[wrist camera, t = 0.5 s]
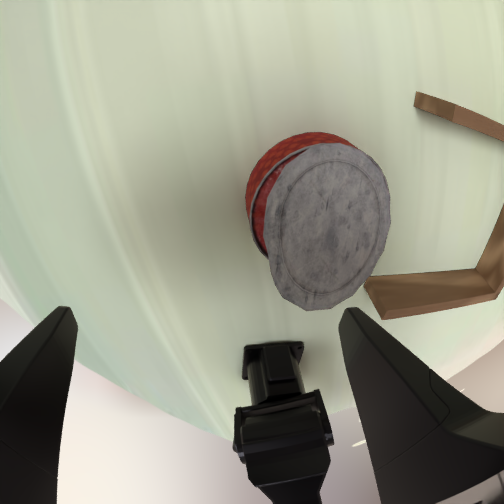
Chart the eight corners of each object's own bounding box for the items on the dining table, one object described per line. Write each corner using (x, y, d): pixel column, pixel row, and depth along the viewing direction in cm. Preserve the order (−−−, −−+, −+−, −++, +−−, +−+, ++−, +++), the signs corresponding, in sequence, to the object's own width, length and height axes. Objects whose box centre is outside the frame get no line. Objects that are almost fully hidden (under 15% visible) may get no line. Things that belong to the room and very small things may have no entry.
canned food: (243, 147, 24) (232, 111, 14) (362, 144, 23) (418, 113, 13) (252, 285, 25) (248, 333, 16) (368, 276, 25) (423, 315, 15)
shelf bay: (476, 275, 30) (495, 299, 27) (363, 286, 28) (382, 320, 24) (529, 139, 20) (558, 156, 16) (416, 91, 17) (455, 104, 14)
